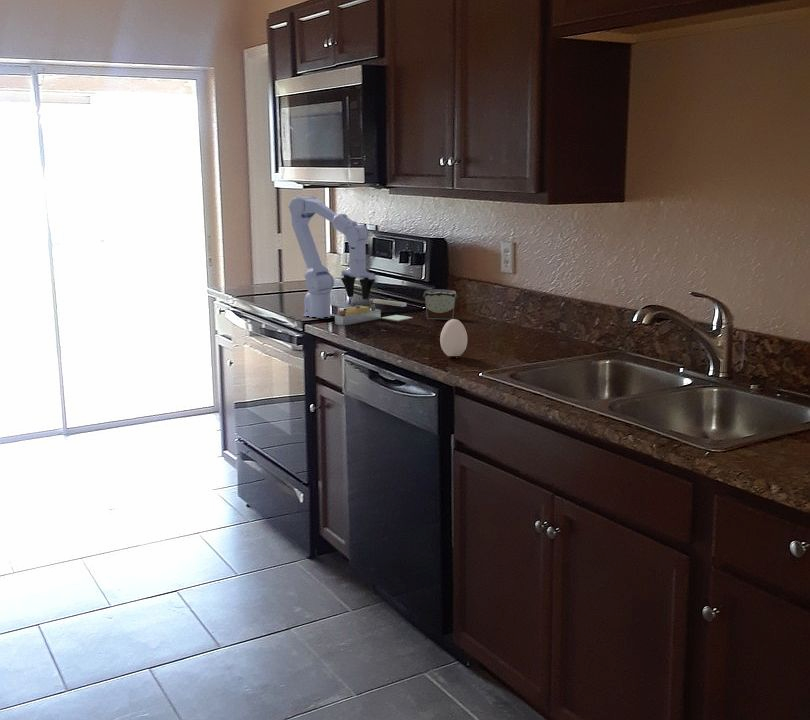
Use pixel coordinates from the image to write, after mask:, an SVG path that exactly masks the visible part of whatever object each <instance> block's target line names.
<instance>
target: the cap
mask: <svg viewBox="0 0 810 720" xmlns="http://www.w3.org/2000/svg"><path fill="white" fill-rule="evenodd" d="M370 309H371V306H367V305H366V306H365V305H355V306H349V307H345V313H350V314H362V313H367V312H370Z"/></svg>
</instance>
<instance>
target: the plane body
mask: <svg viewBox="0 0 810 720" xmlns="http://www.w3.org/2000/svg"><path fill="white" fill-rule="evenodd" d="M369 304H370V312H367V313H362V314H350V313H346V309H344V310H342V309H341V310H338V314H334V315H335V316H334V324H335V325H337V326H343V327H344V326H347V325H352V324H353V325H354V324H359V323H365V322H368V321H369V322H370V321H375V320H381V319H382V317H381V315H382V314H381V313H382V312H381V309H377V308H376V303H370V302H369Z"/></svg>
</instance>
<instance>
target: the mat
mask: <svg viewBox="0 0 810 720" xmlns="http://www.w3.org/2000/svg"><path fill="white" fill-rule="evenodd" d="M381 319H382V320H388V321H394V322H401V321H402V322H403V321H406V320H411V319H413V317H412V316H407V315H398V314H394V315H388V316H382V317H381Z"/></svg>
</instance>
